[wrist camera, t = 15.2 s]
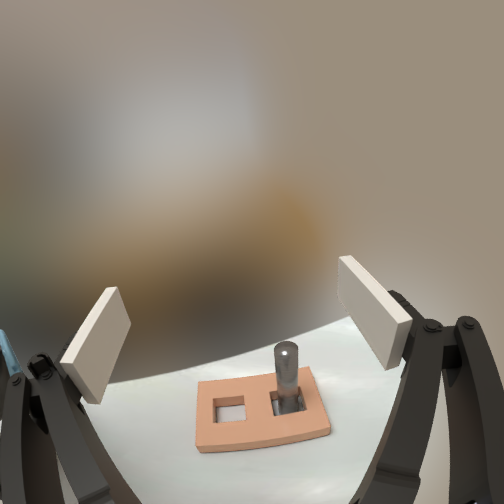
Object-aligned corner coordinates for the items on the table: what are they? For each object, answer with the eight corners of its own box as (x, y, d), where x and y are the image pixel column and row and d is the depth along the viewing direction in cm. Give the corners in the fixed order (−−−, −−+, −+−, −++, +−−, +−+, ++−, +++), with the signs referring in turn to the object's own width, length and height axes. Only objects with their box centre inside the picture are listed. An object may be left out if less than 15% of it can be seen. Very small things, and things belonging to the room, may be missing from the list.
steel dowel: (280, 418, 36) (276, 359, 31) (277, 404, 39) (272, 343, 34) (299, 414, 37) (300, 354, 31) (295, 400, 39) (295, 339, 34)
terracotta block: (199, 452, 31) (195, 445, 30) (201, 390, 43) (198, 381, 42) (329, 434, 32) (330, 426, 31) (308, 375, 44) (309, 366, 43)
